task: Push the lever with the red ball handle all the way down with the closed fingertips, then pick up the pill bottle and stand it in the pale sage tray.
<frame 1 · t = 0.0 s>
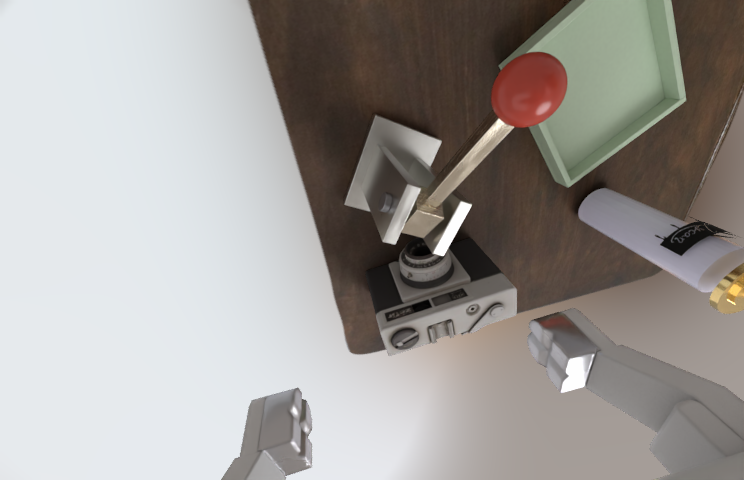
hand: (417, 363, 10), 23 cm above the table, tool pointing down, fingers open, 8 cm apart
camera: (418, 254, 37), on the table
bracket: (389, 169, 30), on the table
tray: (588, 83, 29), on the table
lever: (462, 163, 18), point 12 cm above the table, hinge at 28.0°
perfume bottle: (589, 202, 37), on the table
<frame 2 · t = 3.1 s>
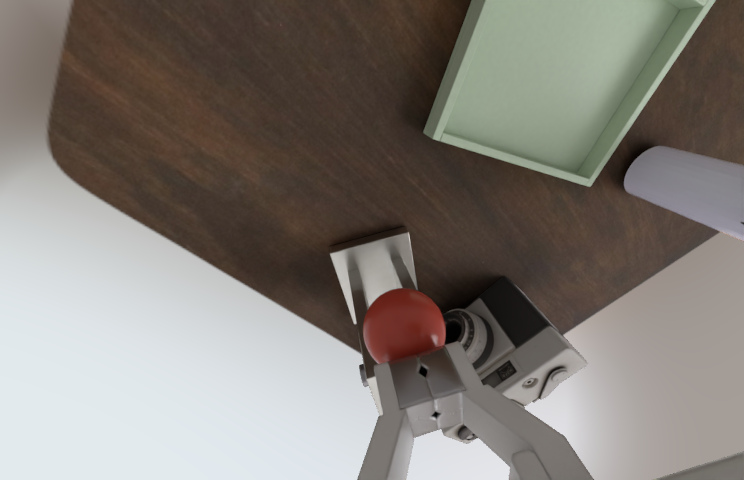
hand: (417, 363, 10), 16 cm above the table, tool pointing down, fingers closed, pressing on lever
camera: (456, 314, 34), on the table
bracket: (376, 274, 29), on the table
tray: (548, 70, 22), on the table
lever: (404, 350, 16), point 12 cm above the table, hinge at 27.5°, touching gripper
perfume bottle: (638, 167, 28), on the table
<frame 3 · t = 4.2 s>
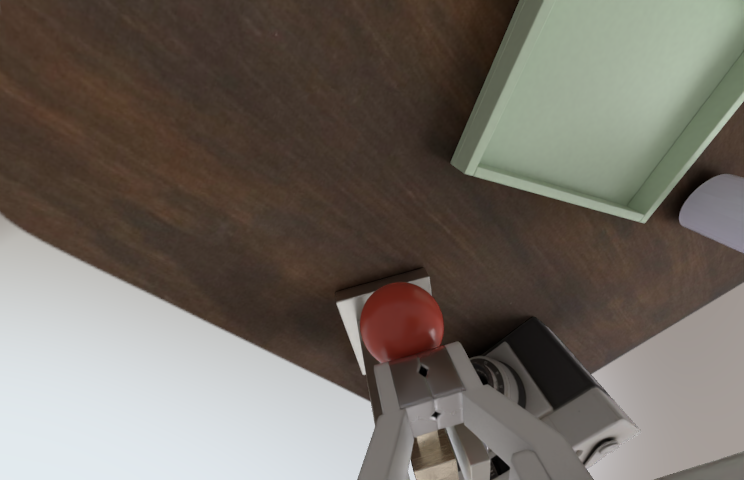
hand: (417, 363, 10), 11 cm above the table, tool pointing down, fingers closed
camera: (477, 357, 30), on the table
bracket: (389, 319, 25), on the table
tray: (604, 88, 18), on the table
lever: (418, 399, 14), point 10 cm above the table, hinge at -3.3°, touching gripper
perfume bottle: (694, 197, 24), on the table
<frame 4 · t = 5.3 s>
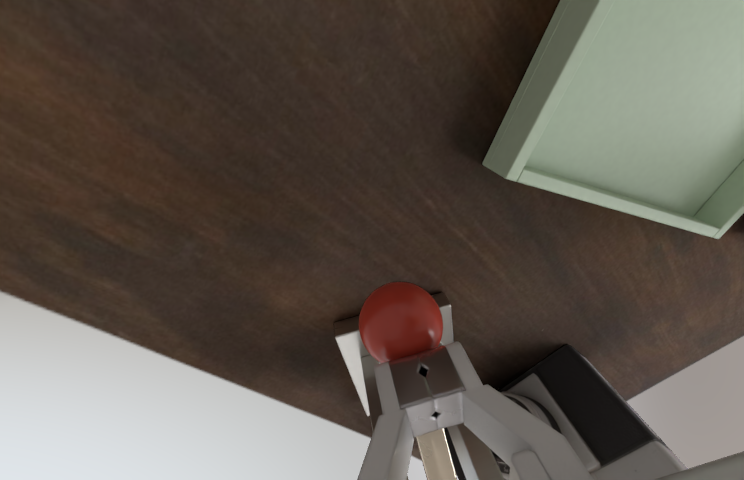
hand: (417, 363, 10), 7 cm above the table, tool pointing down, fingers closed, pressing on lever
camera: (499, 388, 26), on the table
bracket: (399, 352, 21), on the table
tray: (684, 67, 14), on the table
lever: (431, 440, 12), point 8 cm above the table, hinge at -28.2°, touching gripper
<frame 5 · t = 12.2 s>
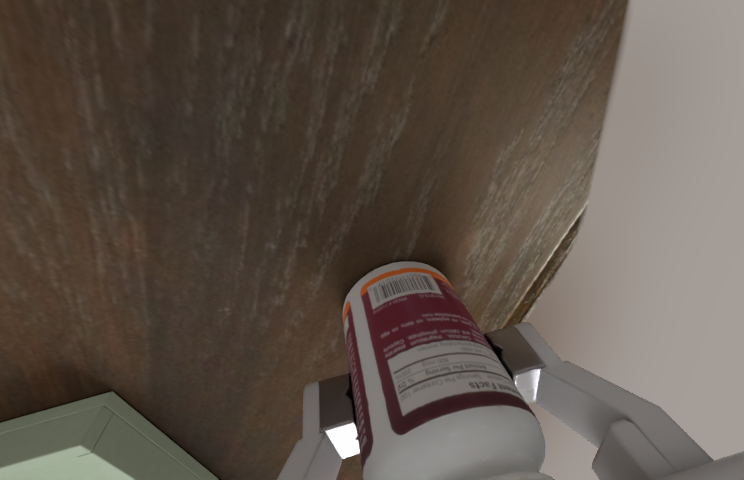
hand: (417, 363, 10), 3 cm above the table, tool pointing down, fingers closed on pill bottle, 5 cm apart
pill bottle: (396, 300, 13), on the table, touching gripper
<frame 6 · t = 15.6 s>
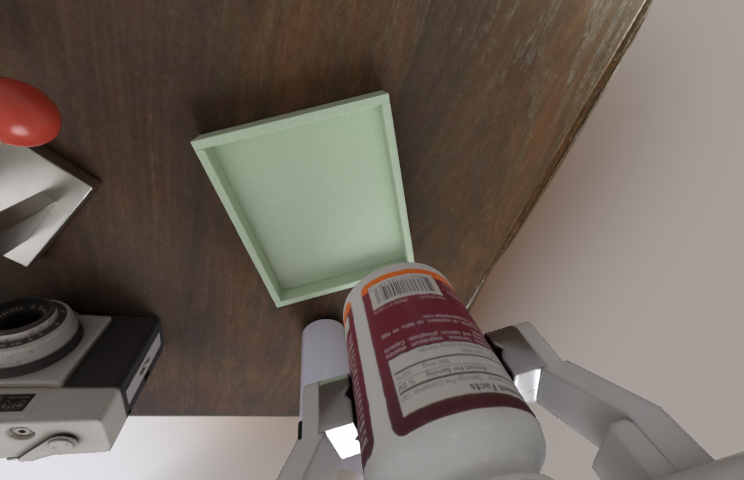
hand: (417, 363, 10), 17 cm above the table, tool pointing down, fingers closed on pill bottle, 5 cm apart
camera: (73, 313, 27), on the table
bracket: (12, 190, 21), on the table
tray: (322, 206, 25), on the table
perfume bottle: (323, 327, 33), on the table
pill bottle: (397, 301, 13), point 14 cm above the table, touching gripper
when the fingers open (3 cm above the table, at t = 19.3 s): pill bottle stays where it is, resting on tray.
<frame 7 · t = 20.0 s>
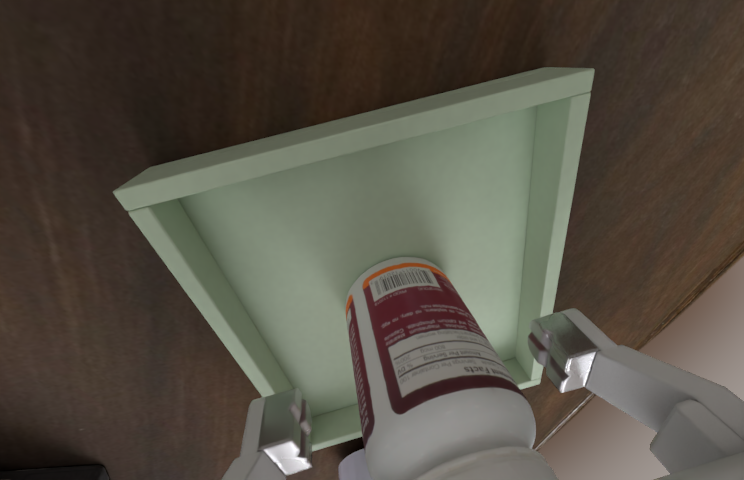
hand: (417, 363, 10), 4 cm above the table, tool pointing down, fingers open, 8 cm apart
tray: (391, 288, 14), on the table
perfume bottle: (369, 447, 21), on the table
pill bottle: (397, 294, 13), resting on tray
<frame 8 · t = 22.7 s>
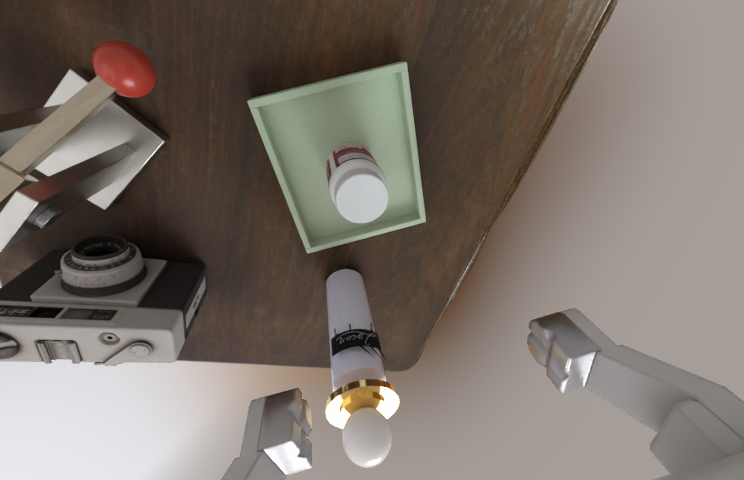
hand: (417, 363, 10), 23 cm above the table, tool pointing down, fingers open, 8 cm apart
camera: (134, 258, 31), on the table
bracket: (98, 144, 25), on the table
tray: (348, 164, 30), on the table
lever: (64, 123, 18), point 7 cm above the table, hinge at -32.5°
perfume bottle: (344, 279, 37), on the table
pill bottle: (350, 165, 29), resting on tray
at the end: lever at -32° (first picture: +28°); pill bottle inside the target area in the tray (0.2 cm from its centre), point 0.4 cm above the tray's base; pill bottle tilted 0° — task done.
